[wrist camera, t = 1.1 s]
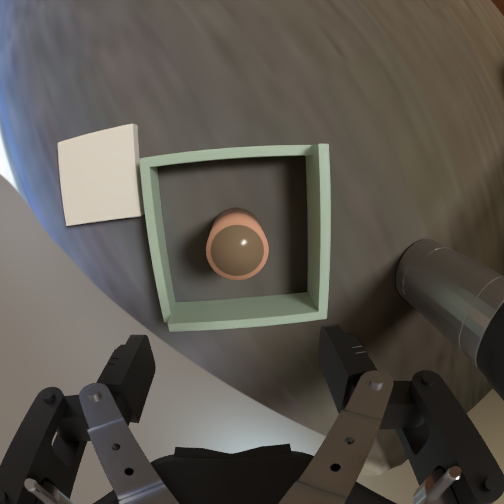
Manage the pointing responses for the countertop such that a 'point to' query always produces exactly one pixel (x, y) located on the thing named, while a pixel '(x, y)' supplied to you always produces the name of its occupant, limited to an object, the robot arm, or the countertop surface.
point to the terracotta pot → (236, 245)
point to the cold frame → (251, 308)
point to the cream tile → (101, 176)
